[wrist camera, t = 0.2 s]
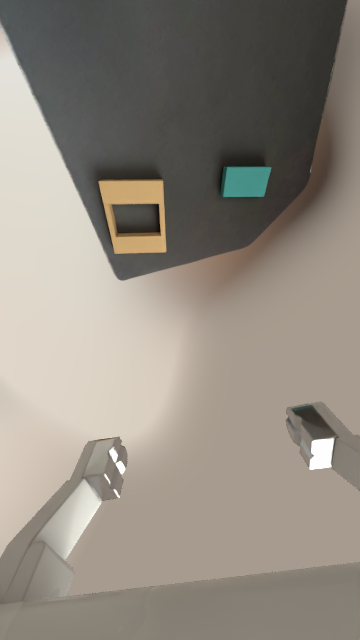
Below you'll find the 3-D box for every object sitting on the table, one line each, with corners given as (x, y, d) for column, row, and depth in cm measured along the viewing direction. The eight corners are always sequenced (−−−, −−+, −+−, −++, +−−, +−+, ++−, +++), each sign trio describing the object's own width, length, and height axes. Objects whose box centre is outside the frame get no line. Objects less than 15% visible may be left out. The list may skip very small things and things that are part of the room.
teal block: (223, 166, 43) (227, 167, 41) (265, 166, 44) (271, 167, 42) (220, 194, 47) (223, 196, 45) (259, 194, 48) (263, 196, 45)
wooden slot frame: (101, 179, 43) (98, 181, 41) (162, 179, 44) (162, 180, 42) (116, 249, 54) (114, 253, 51) (165, 248, 55) (166, 252, 52)
